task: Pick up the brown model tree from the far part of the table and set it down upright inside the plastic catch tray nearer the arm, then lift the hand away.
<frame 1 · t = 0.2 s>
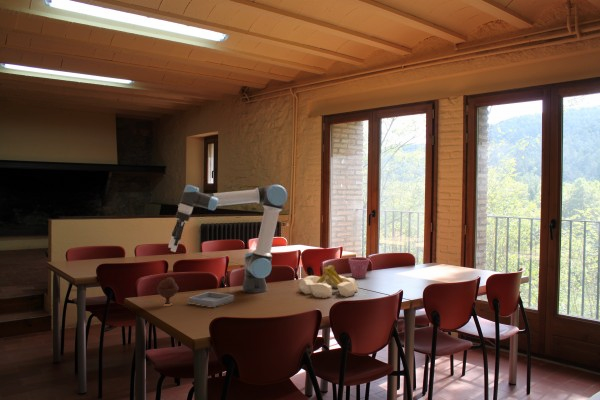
hand: (171, 249, 270), 28 cm above the table, tool tilted 20°, fingers open, 13 cm apart
plant pot: (358, 277, 345), on the table
catch tray: (211, 302, 266), on the table
campfire: (328, 292, 296), on the table
brown model tree: (167, 305, 260), on the table
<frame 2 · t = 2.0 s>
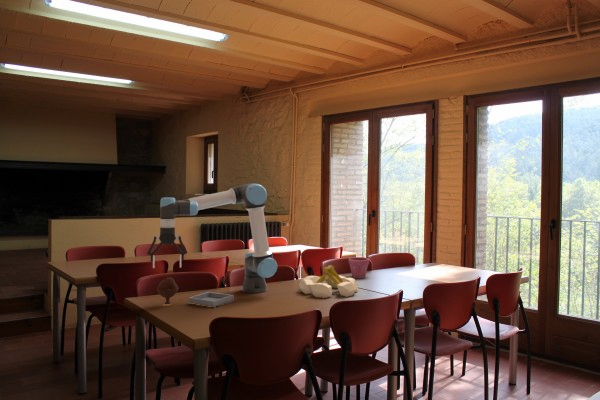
hand: (167, 267, 259), 20 cm above the table, tool pointing down, fingers open, 13 cm apart
nothing on the table moved.
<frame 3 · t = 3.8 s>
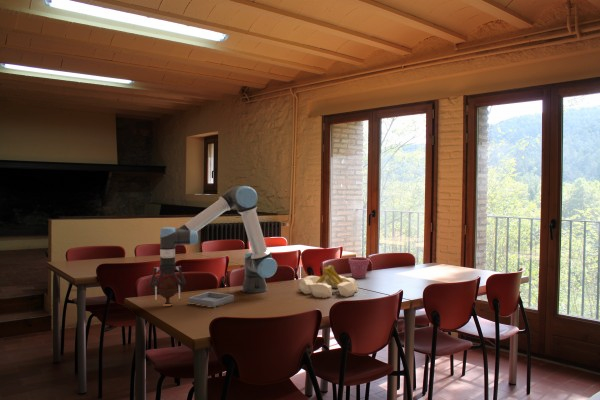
hand: (167, 298, 260), 4 cm above the table, tool pointing down, fingers closed on brown model tree, 11 cm apart
brown model tree: (167, 305, 260), on the table, touching gripper
everything else where it was.
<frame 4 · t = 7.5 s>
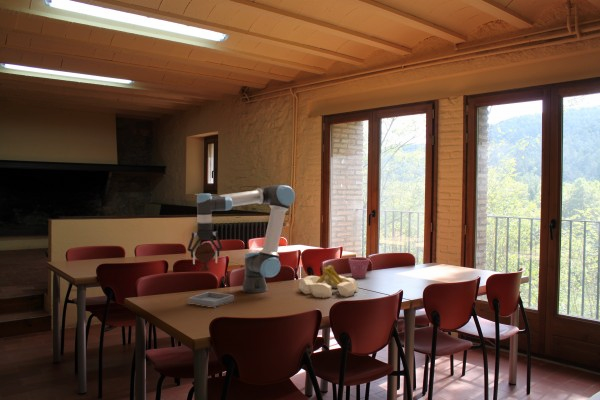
hand: (205, 263, 265), 21 cm above the table, tool pointing down, fingers closed on brown model tree, 11 cm apart
brown model tree: (205, 270, 265), point 18 cm above the table, touching gripper
everything else where it was.
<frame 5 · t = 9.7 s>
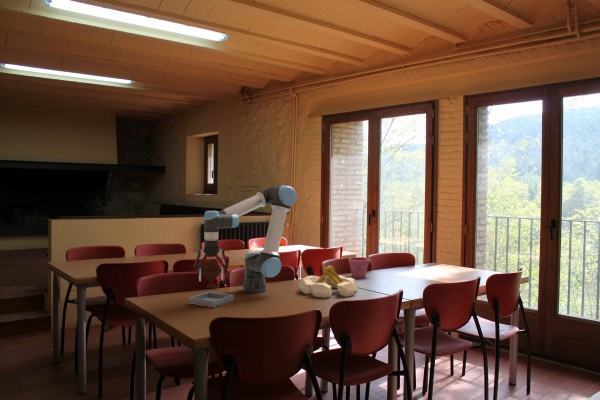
hand: (211, 280, 266), 12 cm above the table, tool pointing down, fingers closed on brown model tree, 11 cm apart
brown model tree: (211, 287, 266), point 8 cm above the table, touching gripper
everything else where it was.
when the fingers open (6 cm above the table, at t = 11.4 s): brown model tree drops 2 cm, resting on catch tray.
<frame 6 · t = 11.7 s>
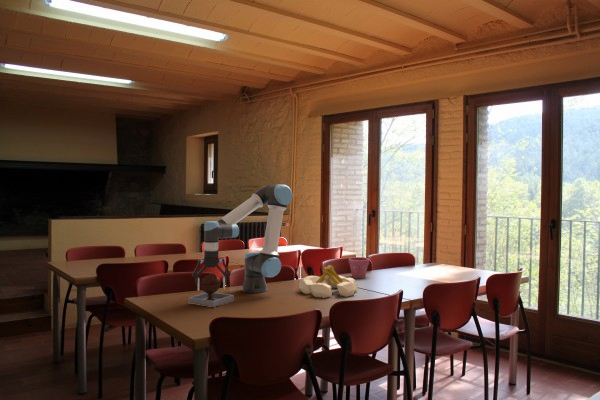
hand: (211, 289, 266), 7 cm above the table, tool pointing down, fingers open, 13 cm apart
brown model tree: (210, 301, 266), point 1 cm above the table, touching catch tray
everything else where it was.
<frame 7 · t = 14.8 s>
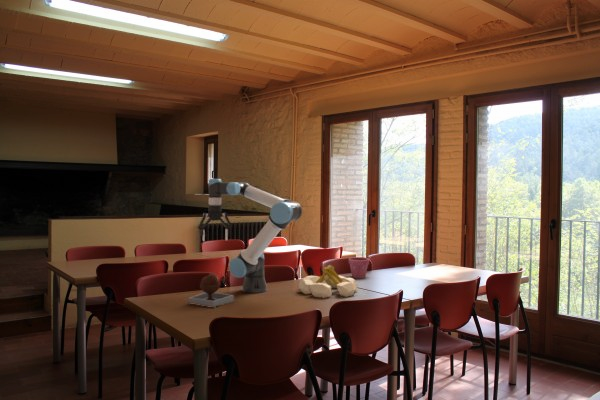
hand: (215, 240, 294), 30 cm above the table, tool pointing down, fingers open, 13 cm apart
nothing on the table moved.
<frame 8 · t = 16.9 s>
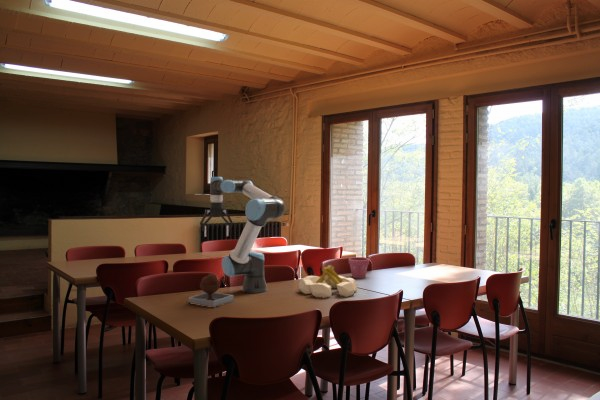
hand: (216, 236, 305), 32 cm above the table, tool pointing down, fingers open, 13 cm apart
nothing on the table moved.
at the end: brown model tree inside the target area on the catch tray (0.6 cm from its centre), point 0.8 cm above the catch tray's base; brown model tree tilted 0°; the gripper is holding nothing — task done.
